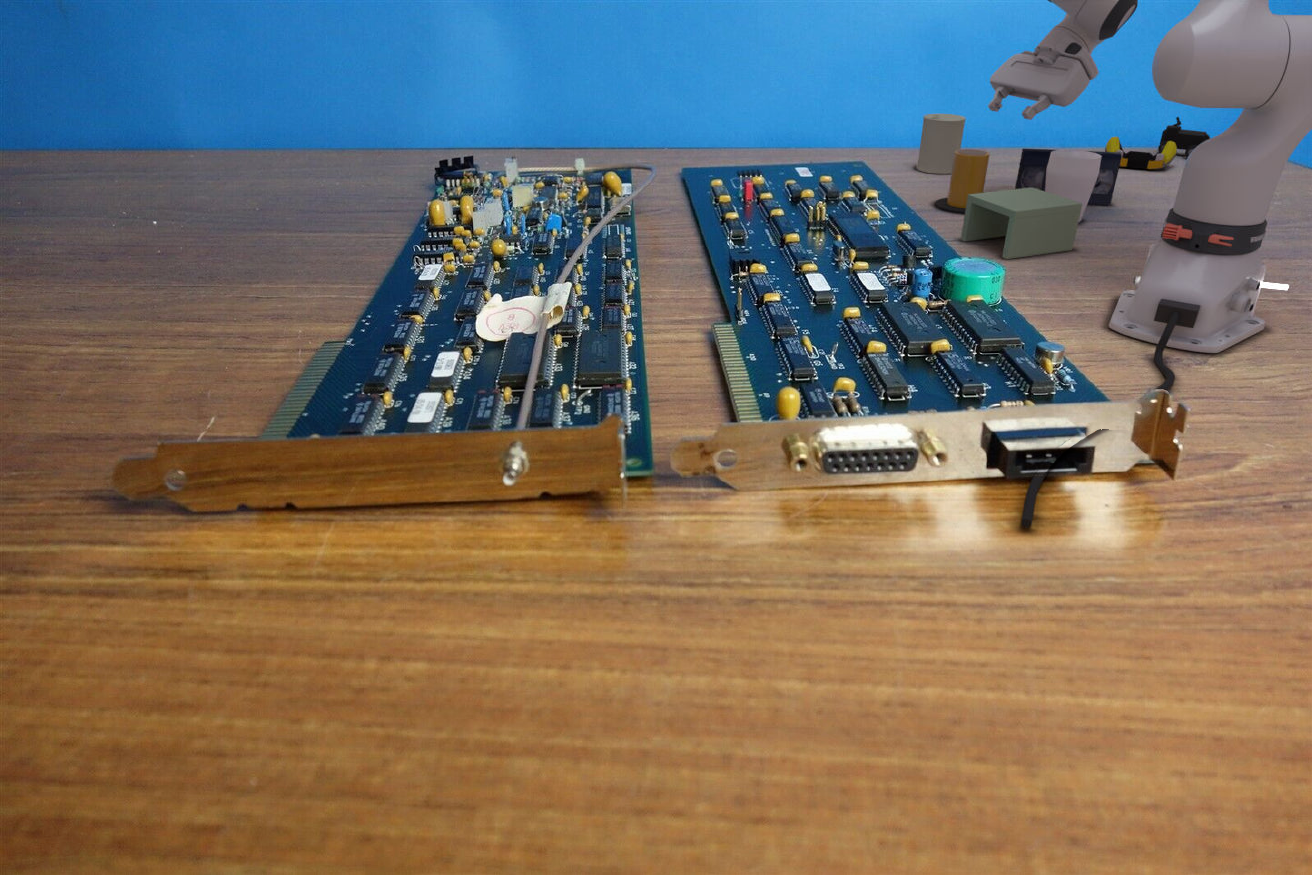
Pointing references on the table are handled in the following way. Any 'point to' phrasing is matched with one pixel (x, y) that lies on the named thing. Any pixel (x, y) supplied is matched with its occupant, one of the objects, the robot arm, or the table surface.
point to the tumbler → (967, 175)
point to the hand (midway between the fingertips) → (1008, 113)
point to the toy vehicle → (1182, 137)
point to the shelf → (1022, 221)
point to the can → (940, 142)
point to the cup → (1072, 175)
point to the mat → (948, 206)
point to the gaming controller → (1143, 155)
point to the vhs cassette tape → (1036, 166)
